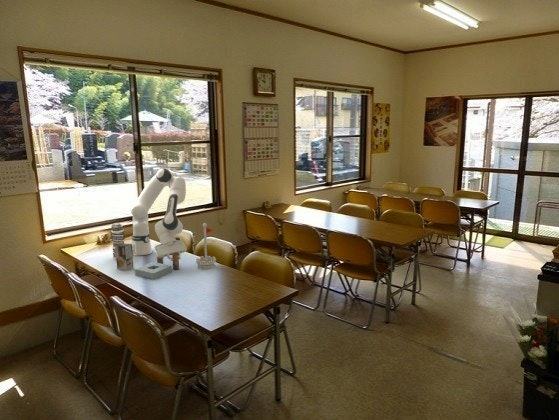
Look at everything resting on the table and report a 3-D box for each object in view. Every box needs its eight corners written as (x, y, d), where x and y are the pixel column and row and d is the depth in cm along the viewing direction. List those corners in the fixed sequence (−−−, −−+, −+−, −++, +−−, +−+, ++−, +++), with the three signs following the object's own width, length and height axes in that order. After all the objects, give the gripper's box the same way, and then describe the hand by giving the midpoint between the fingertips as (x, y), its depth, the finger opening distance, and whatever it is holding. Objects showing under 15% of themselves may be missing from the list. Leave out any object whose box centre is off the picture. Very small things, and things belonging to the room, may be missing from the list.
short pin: (156, 266, 273) (155, 257, 271) (160, 264, 276) (159, 255, 275) (160, 267, 271) (160, 257, 270) (164, 265, 274) (164, 256, 273)
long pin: (171, 269, 266) (170, 253, 264) (175, 267, 270) (174, 251, 268) (176, 270, 264) (175, 254, 262) (180, 268, 268) (179, 252, 266)
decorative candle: (123, 259, 288) (120, 225, 283) (110, 259, 288) (107, 225, 283) (128, 255, 297) (125, 222, 292) (115, 255, 297) (113, 222, 292)
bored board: (135, 275, 256) (134, 269, 255) (153, 267, 270) (153, 262, 269) (153, 279, 248) (153, 273, 248) (172, 271, 262) (171, 265, 261)
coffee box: (134, 267, 271) (132, 244, 268) (126, 270, 265) (125, 246, 262) (123, 265, 275) (122, 242, 271) (116, 268, 269) (114, 244, 266)
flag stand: (197, 270, 265) (195, 225, 259) (195, 264, 277) (194, 221, 271) (217, 268, 268) (215, 224, 262) (214, 262, 280) (213, 220, 275)
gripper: (154, 242, 261) (162, 260, 256) (182, 237, 275) (191, 254, 270) (152, 248, 265) (160, 265, 260) (179, 242, 279) (187, 259, 274)
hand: (176, 259), depth 265 cm, fingers closed on long pin, 4 cm apart
